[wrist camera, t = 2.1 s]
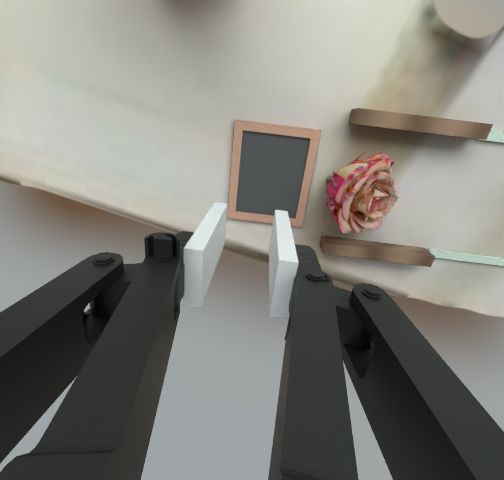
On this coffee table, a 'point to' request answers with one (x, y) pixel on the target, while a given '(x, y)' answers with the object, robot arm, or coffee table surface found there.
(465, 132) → the brown slabs
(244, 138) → the framed chalkboard
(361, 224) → the flower
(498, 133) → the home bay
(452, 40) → the coffee table surface
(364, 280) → the coffee table surface
